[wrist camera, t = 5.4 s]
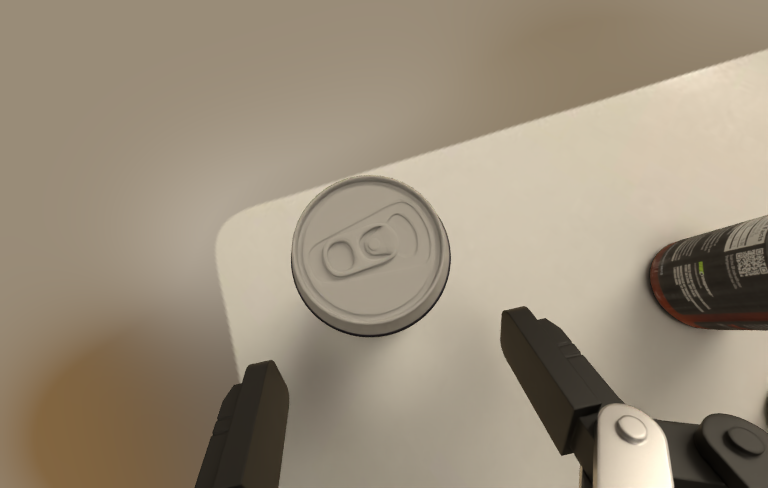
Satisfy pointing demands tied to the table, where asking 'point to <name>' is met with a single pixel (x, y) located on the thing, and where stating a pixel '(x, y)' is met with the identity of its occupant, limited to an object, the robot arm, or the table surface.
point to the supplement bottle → (716, 278)
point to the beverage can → (370, 256)
